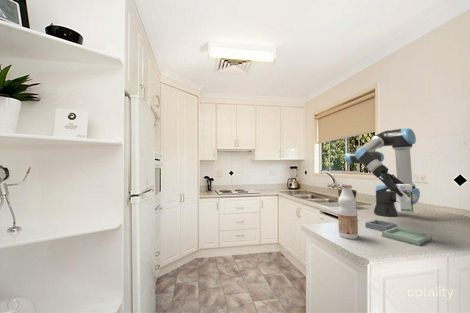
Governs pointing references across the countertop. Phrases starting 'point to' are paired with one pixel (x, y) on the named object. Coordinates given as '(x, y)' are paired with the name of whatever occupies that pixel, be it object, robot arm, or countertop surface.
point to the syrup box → (401, 204)
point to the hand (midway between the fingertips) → (412, 200)
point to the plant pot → (352, 191)
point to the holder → (380, 225)
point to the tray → (407, 236)
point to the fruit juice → (347, 214)
